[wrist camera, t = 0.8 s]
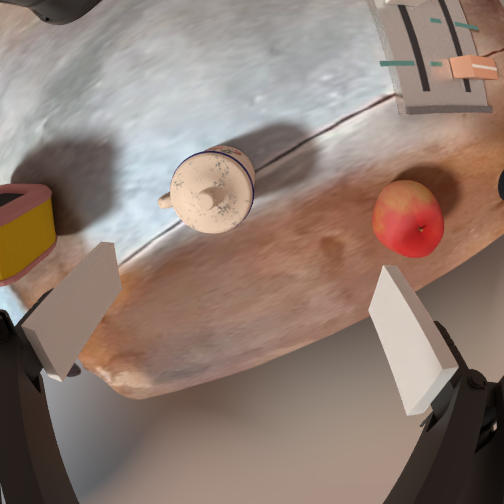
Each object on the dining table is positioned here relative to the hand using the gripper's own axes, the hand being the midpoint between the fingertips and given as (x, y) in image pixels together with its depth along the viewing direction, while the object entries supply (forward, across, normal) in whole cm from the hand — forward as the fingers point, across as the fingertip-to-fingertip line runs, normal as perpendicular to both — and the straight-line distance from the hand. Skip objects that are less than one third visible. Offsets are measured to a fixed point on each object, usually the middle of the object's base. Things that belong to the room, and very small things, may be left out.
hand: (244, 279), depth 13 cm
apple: (+26, +19, -3) cm, 33 cm away
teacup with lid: (+26, -6, -2) cm, 27 cm away
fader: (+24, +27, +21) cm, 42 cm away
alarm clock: (+27, -41, -7) cm, 50 cm away
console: (+26, +22, +24) cm, 42 cm away
